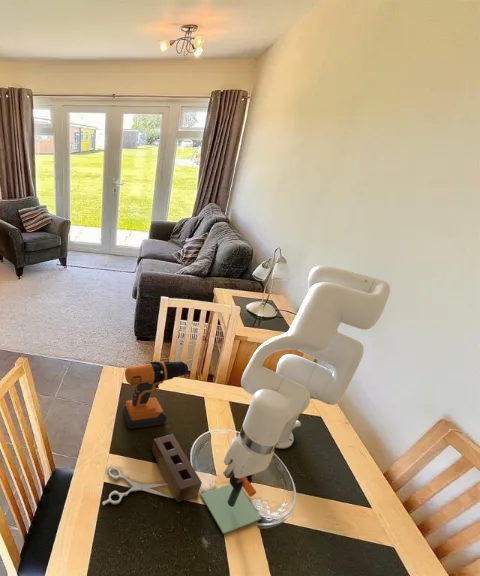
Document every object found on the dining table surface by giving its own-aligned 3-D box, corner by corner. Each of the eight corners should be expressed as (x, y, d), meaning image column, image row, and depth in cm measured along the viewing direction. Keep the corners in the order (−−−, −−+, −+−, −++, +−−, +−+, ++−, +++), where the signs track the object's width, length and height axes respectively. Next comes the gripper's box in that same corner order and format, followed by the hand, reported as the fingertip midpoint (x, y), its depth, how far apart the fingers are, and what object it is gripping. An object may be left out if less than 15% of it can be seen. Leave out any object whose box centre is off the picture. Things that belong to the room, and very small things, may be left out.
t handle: (224, 487, 89) (235, 460, 83) (244, 517, 82) (257, 490, 76) (218, 489, 88) (228, 462, 83) (237, 520, 81) (250, 492, 76)
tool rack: (170, 446, 102) (172, 433, 99) (197, 495, 88) (202, 482, 86) (151, 451, 100) (153, 439, 97) (177, 502, 87) (180, 489, 84)
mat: (235, 483, 92) (236, 481, 92) (260, 519, 83) (261, 518, 83) (200, 495, 88) (200, 493, 88) (223, 534, 80) (223, 533, 80)
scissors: (103, 466, 94) (170, 471, 93) (103, 467, 94) (170, 473, 94) (102, 503, 84) (177, 510, 84) (102, 505, 85) (176, 512, 84)
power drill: (173, 405, 117) (185, 352, 105) (182, 422, 110) (195, 367, 99) (117, 413, 113) (123, 358, 101) (123, 430, 106) (129, 374, 95)
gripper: (272, 416, 78) (253, 463, 87) (218, 431, 74) (203, 479, 82) (298, 442, 72) (274, 490, 80) (240, 460, 68) (222, 509, 76)
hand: (238, 484), depth 81 cm, fingers closed on t handle, 2 cm apart
